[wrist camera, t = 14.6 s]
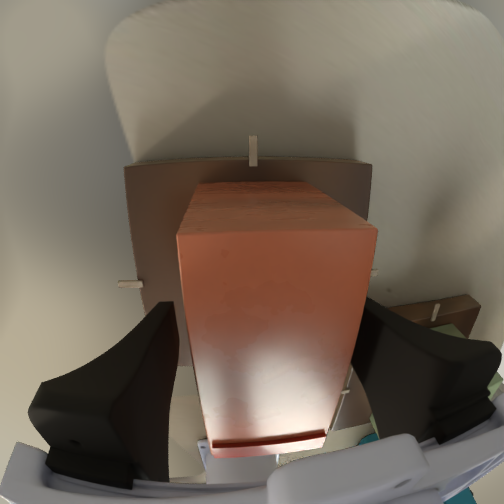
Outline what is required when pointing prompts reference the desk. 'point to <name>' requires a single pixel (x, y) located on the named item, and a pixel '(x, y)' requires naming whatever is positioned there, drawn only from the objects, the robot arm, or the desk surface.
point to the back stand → (426, 314)
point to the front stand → (180, 194)
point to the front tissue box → (271, 310)
